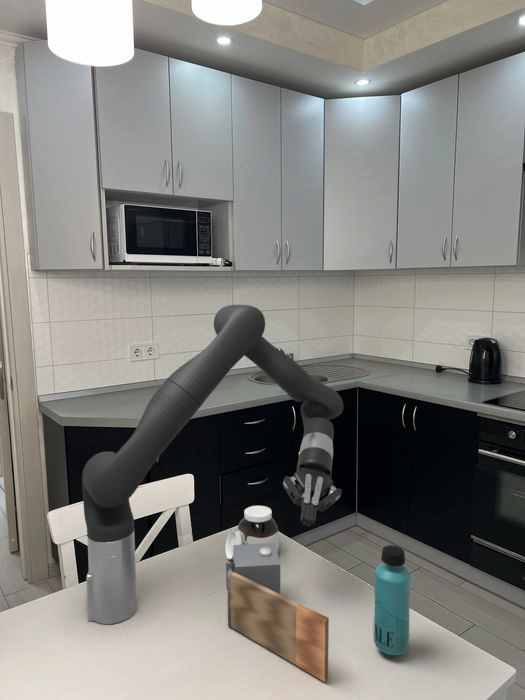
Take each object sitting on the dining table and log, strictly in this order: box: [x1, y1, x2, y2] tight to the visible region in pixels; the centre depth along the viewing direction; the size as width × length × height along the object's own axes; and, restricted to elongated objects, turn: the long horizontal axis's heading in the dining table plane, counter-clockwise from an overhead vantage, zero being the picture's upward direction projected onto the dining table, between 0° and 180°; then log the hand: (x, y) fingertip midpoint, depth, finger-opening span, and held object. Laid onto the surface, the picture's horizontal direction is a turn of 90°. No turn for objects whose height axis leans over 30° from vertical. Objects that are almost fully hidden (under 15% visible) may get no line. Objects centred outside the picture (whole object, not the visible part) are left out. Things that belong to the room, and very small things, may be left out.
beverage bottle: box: [373, 544, 412, 656], centre depth 94 cm, size 6×7×20 cm
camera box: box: [225, 543, 281, 595], centre depth 108 cm, size 11×9×13 cm
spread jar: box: [224, 505, 280, 561], centre depth 129 cm, size 12×11×12 cm
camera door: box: [226, 571, 330, 682], centre depth 95 cm, size 23×1×11 cm, turn 49°
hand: (307, 523), depth 103 cm, fingers closed
